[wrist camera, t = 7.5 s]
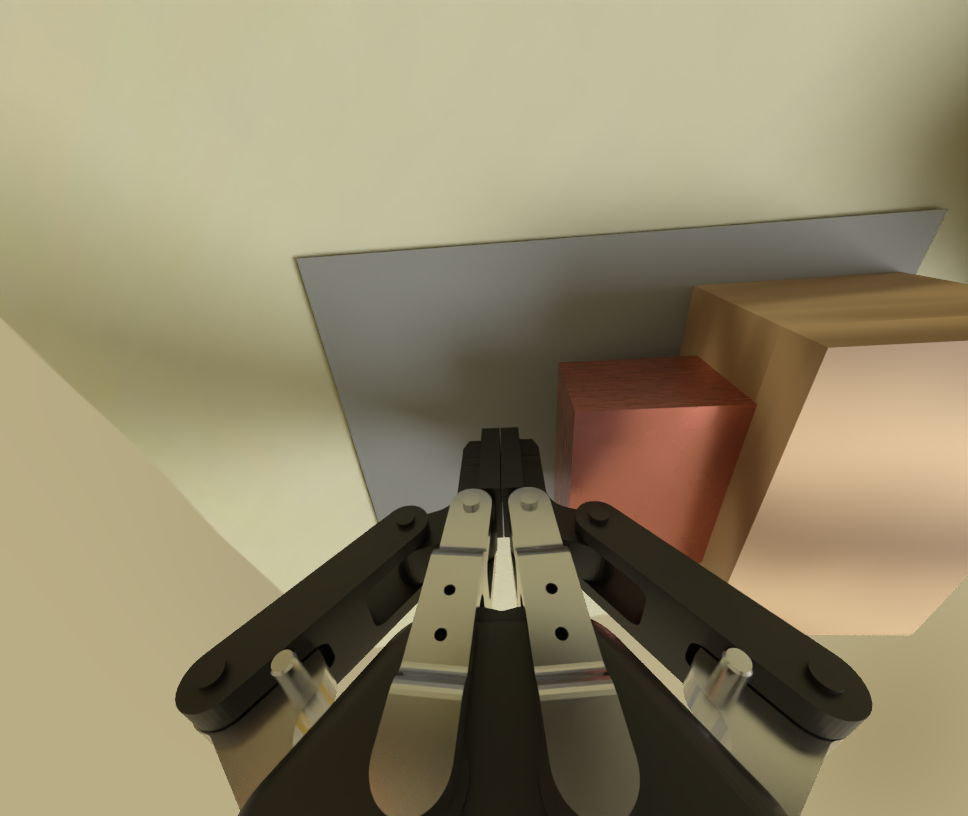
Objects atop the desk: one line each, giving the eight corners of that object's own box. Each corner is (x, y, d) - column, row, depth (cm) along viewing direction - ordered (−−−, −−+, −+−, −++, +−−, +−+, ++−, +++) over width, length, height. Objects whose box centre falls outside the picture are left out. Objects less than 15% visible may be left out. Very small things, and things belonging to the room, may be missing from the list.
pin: (551, 482, 18) (565, 563, 14) (555, 352, 14) (575, 411, 10) (882, 473, 17) (1000, 559, 13) (970, 330, 13) (1170, 387, 9)
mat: (298, 258, 13) (296, 259, 13) (941, 208, 12) (947, 209, 12) (384, 534, 21) (383, 536, 21) (784, 527, 19) (787, 530, 19)
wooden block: (693, 285, 13) (828, 347, 8) (901, 271, 13) (1202, 328, 7) (647, 507, 19) (706, 634, 13) (789, 504, 18) (911, 635, 13)
